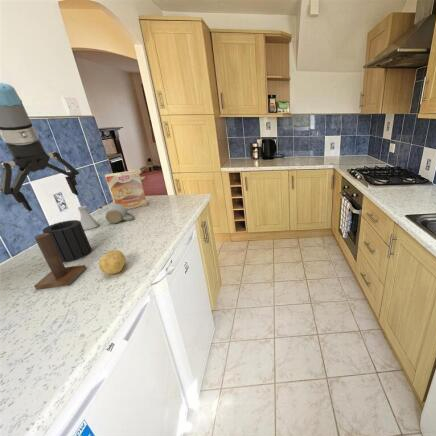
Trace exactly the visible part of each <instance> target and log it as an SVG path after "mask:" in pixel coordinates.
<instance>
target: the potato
mask: <svg viewBox="0 0 436 436" xmlns="http://www.w3.org/2000/svg"><path fill="white" fill-rule="evenodd" d="M126 261H127V259H126V256H125V254H124V253H123V252H122V251H121V250H118V249H113V250H109V251H108V252H106V253H105V254H104V255H102V256H101V258H100V259H99V262H98V266H99V269H100V270H101V272H102V273H104V274H106V275H115V274H118V273H120V272H121V271H122V269H123V268H124V266H125V263H126Z"/></svg>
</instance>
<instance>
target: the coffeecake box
mask: <svg viewBox="0 0 436 436" xmlns="http://www.w3.org/2000/svg"><path fill="white" fill-rule="evenodd" d="M104 178H105V181H106V184H107V187H108V190H109V193H110V196H111V199H112V201H113V205H114V204H121V205H123V206H125V207H126V209H127V210H132V209H136V208H140V207H144V206H148V201H147V197H146V194H145V190H144V186H143V183H142V180H141V179H142V178H141V176H140V172H139V171H137V170H136V169H133V170H127V171H122V172H121V171H120V172H114V173H107V174H104Z"/></svg>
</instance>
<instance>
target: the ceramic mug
mask: <svg viewBox="0 0 436 436" xmlns="http://www.w3.org/2000/svg"><path fill="white" fill-rule="evenodd" d="M128 216H129V217H128ZM134 218H135V215H134V214H133V213H131V212H129V211H128V209H126V207H125V206H123V205H121V204H114V203H113V204H112V205H110V207H108V210H106V213H105V219H106V220H107V221H108V222H109V223H111V224H119V223H120V222H122V221H132V220H134Z"/></svg>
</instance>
